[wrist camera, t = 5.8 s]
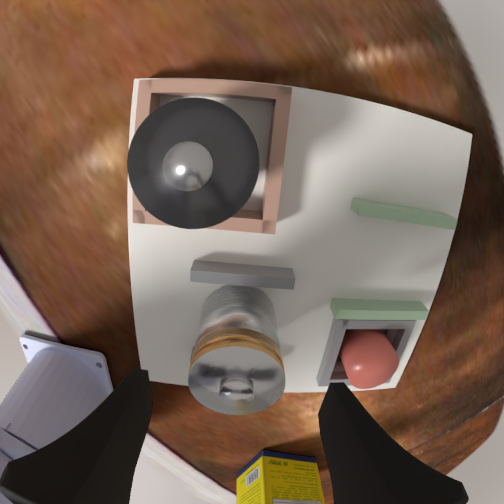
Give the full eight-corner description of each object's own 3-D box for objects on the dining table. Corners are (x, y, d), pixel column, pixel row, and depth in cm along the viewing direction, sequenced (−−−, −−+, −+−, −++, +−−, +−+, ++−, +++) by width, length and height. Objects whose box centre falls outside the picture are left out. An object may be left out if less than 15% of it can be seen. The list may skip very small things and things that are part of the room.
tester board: (389, 377, 21) (401, 401, 19) (146, 368, 20) (137, 395, 18) (460, 132, 14) (488, 136, 12) (141, 82, 13) (122, 74, 11)
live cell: (270, 346, 18) (278, 426, 12) (201, 341, 18) (187, 421, 12) (280, 286, 16) (295, 362, 11) (202, 280, 16) (184, 354, 11)
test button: (375, 361, 19) (388, 387, 17) (332, 362, 19) (342, 390, 17) (390, 323, 18) (406, 347, 16) (345, 322, 18) (357, 349, 16)
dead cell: (249, 197, 15) (252, 240, 9) (166, 191, 14) (120, 230, 9) (258, 113, 13) (267, 100, 8) (171, 108, 13) (124, 95, 7)
